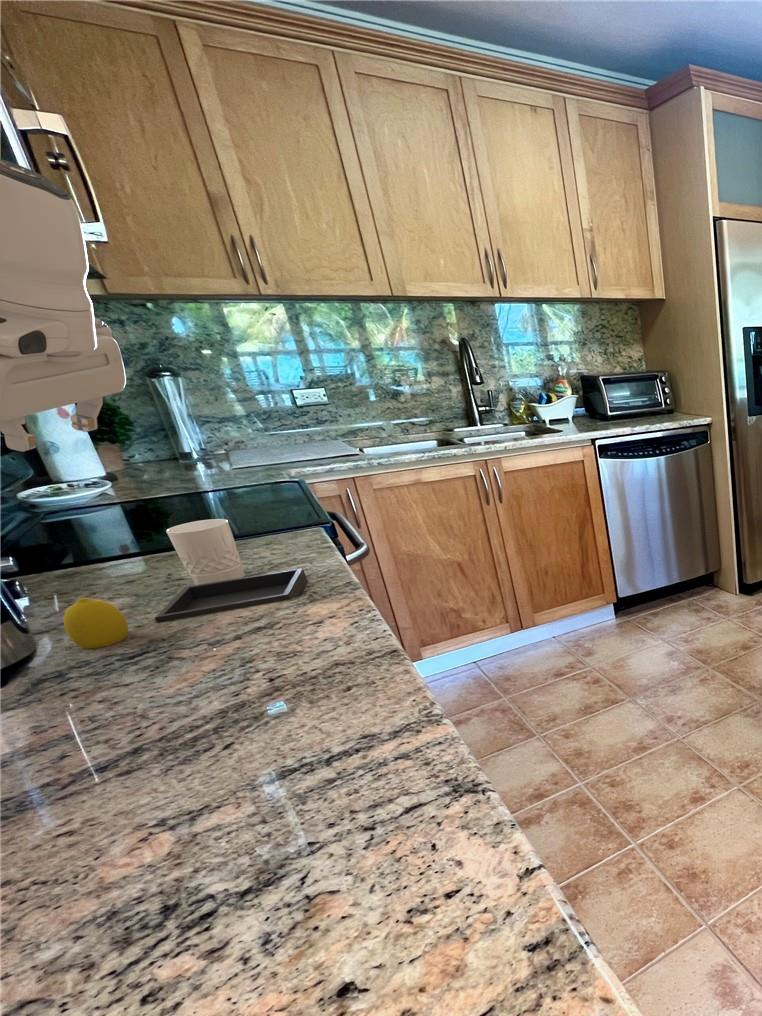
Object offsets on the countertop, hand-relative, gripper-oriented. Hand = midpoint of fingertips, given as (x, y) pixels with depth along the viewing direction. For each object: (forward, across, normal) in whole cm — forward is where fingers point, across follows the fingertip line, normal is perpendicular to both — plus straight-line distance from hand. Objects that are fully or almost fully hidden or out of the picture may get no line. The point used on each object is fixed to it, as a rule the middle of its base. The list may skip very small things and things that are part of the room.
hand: (55, 438), depth 79 cm
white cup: (+30, -21, +6) cm, 37 cm away
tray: (+25, -8, +15) cm, 30 cm away
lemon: (+27, +6, +7) cm, 28 cm away
